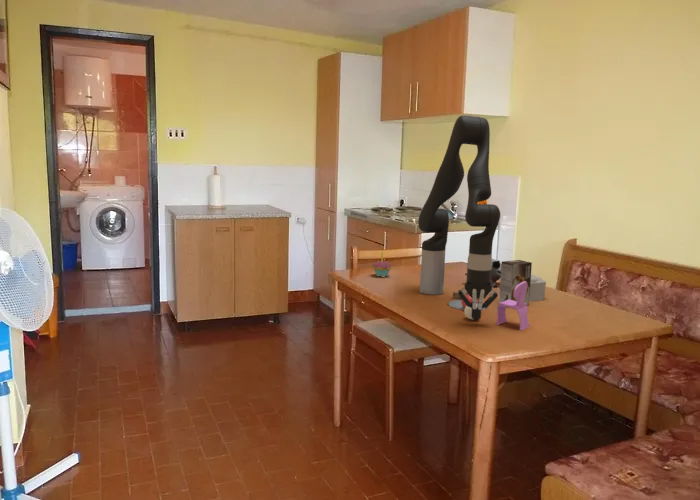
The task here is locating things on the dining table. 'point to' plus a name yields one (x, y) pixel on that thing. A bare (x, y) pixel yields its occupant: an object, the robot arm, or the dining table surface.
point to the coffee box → (514, 279)
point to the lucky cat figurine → (495, 272)
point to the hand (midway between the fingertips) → (476, 319)
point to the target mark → (458, 304)
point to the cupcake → (381, 267)
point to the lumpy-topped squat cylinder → (537, 288)
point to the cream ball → (469, 312)
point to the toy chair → (515, 306)
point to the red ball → (468, 299)
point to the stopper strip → (457, 296)
